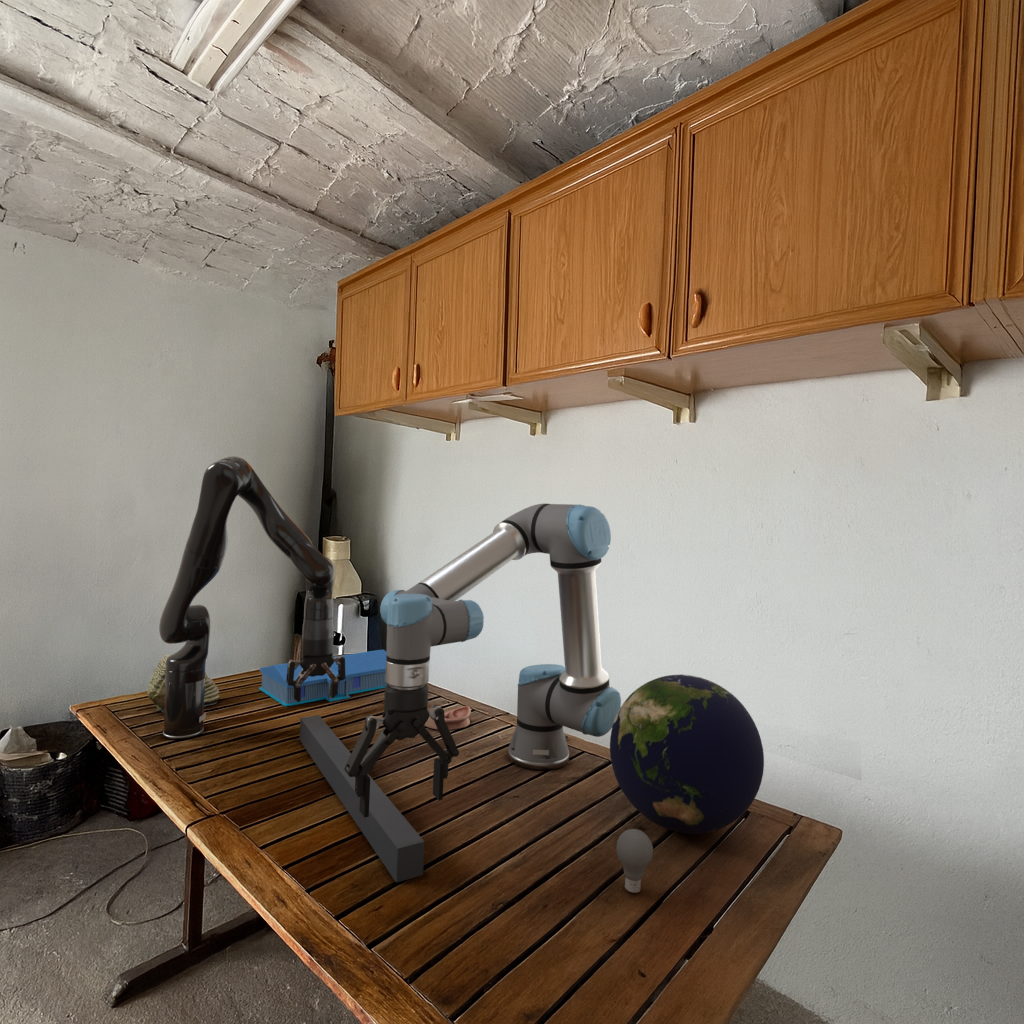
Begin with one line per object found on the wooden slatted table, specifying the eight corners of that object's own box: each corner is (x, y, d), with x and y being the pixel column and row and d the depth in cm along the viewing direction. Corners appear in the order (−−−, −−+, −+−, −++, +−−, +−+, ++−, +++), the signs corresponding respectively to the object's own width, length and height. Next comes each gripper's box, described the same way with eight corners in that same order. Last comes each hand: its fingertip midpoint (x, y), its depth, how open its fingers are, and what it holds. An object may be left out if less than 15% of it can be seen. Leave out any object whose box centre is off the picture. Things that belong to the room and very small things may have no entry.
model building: (289, 709, 186) (291, 675, 185) (258, 688, 204) (259, 657, 204) (403, 687, 212) (405, 657, 212) (366, 670, 230) (368, 643, 230)
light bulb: (610, 879, 108) (613, 822, 108) (644, 879, 109) (647, 822, 109) (619, 902, 102) (622, 840, 102) (655, 901, 103) (658, 840, 103)
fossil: (144, 707, 182) (145, 655, 182) (212, 696, 194) (213, 647, 194) (151, 716, 175) (153, 662, 175) (221, 703, 188) (223, 653, 188)
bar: (299, 739, 164) (300, 717, 164) (318, 737, 166) (319, 715, 166) (396, 882, 105) (397, 848, 105) (423, 875, 108) (424, 841, 108)
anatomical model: (417, 713, 176) (431, 700, 187) (417, 727, 176) (430, 714, 187) (463, 718, 173) (474, 705, 184) (463, 733, 173) (473, 719, 184)
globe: (589, 842, 120) (597, 685, 120) (623, 780, 148) (629, 652, 147) (758, 884, 109) (767, 711, 108) (760, 808, 137) (767, 670, 136)
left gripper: (292, 640, 153) (289, 707, 154) (350, 636, 161) (347, 699, 161) (285, 634, 160) (283, 698, 160) (341, 630, 167) (339, 691, 167)
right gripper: (342, 699, 100) (336, 831, 101) (480, 681, 113) (475, 799, 114) (329, 686, 107) (324, 811, 107) (461, 671, 120) (456, 782, 120)
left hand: (315, 699), depth 161 cm, fingers open, 8 cm apart
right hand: (402, 805), depth 110 cm, fingers open, 13 cm apart
